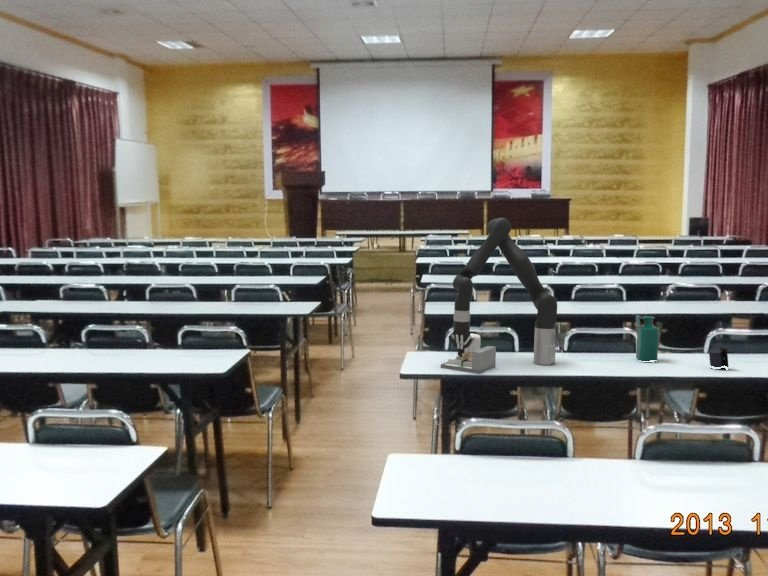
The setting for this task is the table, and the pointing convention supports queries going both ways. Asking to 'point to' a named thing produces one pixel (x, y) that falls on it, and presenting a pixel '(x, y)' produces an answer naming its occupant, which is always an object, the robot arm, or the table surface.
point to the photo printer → (474, 343)
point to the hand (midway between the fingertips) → (460, 356)
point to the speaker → (718, 357)
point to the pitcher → (647, 339)
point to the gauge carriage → (466, 357)
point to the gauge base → (474, 361)
